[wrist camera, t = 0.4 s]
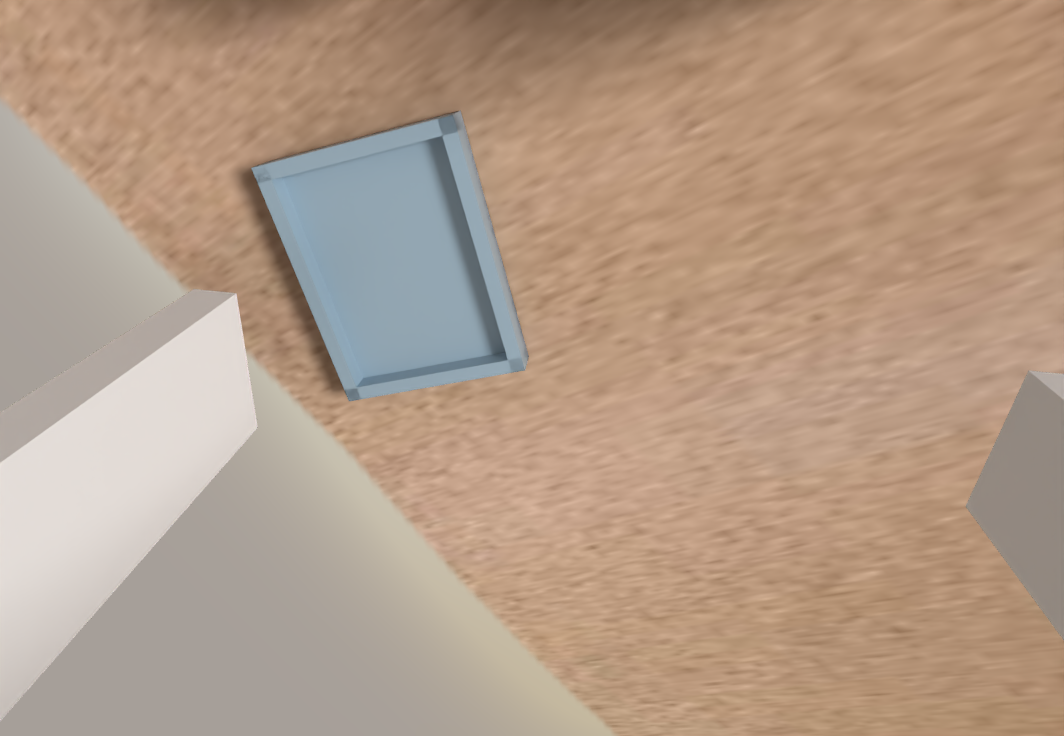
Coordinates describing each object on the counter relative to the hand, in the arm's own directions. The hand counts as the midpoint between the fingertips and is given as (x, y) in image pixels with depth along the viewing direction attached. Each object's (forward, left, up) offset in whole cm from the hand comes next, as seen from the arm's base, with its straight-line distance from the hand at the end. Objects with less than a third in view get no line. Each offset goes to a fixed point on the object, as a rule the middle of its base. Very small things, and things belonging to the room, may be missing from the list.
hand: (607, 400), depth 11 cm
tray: (+3, -12, -25) cm, 28 cm away
